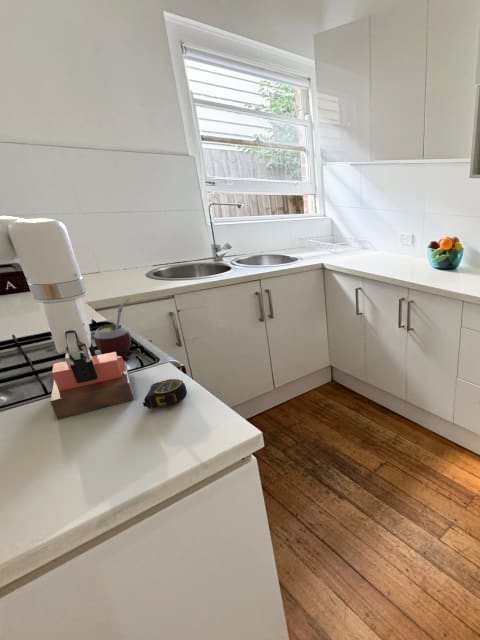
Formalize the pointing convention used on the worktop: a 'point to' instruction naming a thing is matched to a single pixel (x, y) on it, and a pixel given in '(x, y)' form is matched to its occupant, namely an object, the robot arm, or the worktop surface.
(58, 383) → the pink rectangular bar
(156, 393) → the tape measure
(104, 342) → the mate gourd
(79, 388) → the wood block
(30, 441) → the worktop surface
